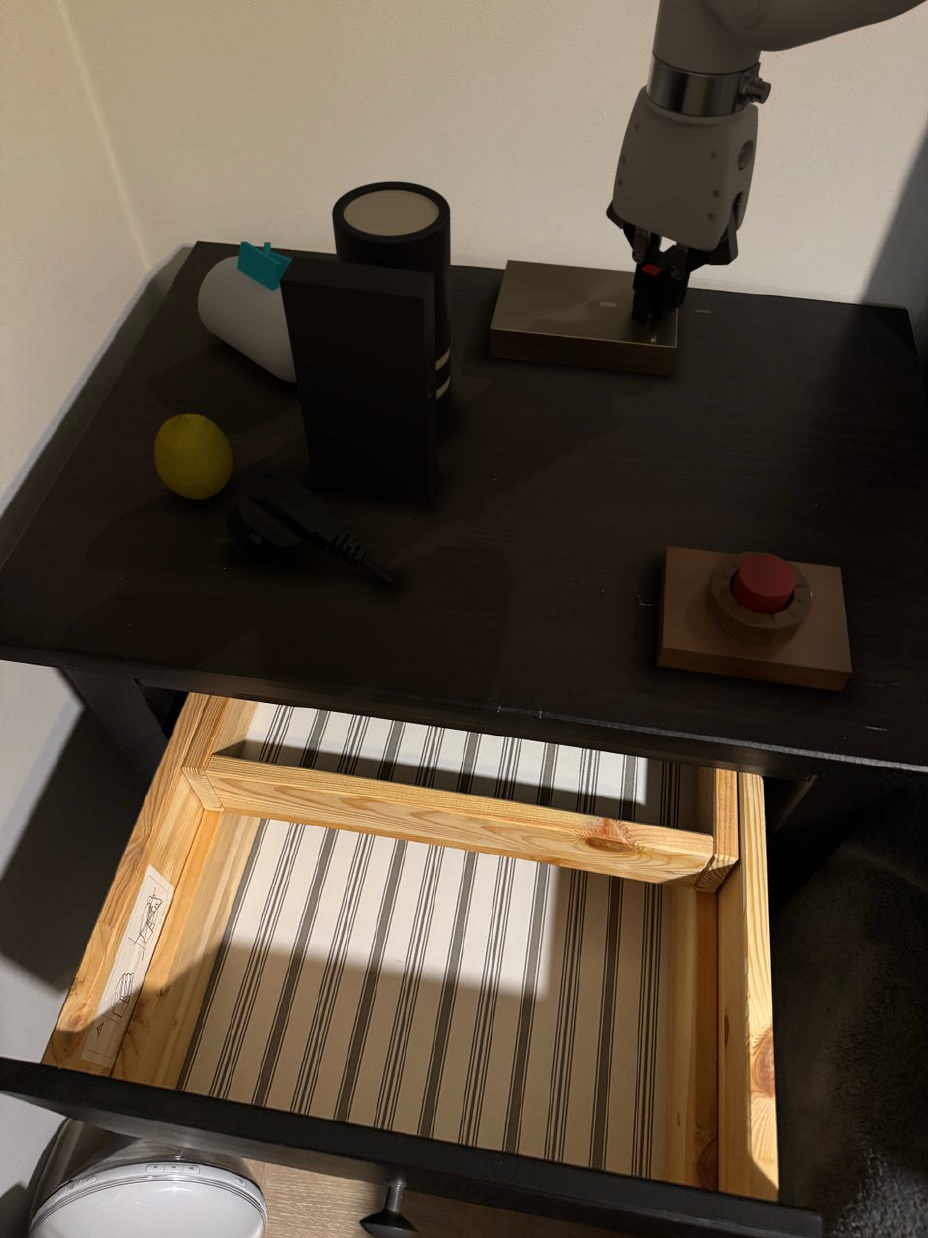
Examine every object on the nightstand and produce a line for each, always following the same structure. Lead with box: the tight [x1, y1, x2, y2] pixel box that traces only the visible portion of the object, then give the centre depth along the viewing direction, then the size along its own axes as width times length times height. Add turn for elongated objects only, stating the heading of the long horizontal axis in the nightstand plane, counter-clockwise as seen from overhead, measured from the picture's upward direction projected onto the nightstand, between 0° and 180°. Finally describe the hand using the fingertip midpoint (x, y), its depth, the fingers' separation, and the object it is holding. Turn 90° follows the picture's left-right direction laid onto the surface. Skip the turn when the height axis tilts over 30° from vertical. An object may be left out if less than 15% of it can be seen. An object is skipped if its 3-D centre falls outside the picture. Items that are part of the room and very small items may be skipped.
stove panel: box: [488, 259, 712, 377], centre depth 82 cm, size 19×11×3 cm, turn 80°
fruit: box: [153, 413, 234, 501], centre depth 67 cm, size 6×6×8 cm
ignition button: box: [733, 555, 796, 614], centre depth 59 cm, size 4×4×2 cm
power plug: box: [225, 472, 394, 586], centre depth 65 cm, size 6×8×12 cm
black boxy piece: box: [631, 244, 676, 325], centre depth 78 cm, size 6×2×5 cm, turn 141°
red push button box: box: [656, 545, 853, 692], centre depth 61 cm, size 12×9×4 cm
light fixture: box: [279, 180, 453, 507], centre depth 67 cm, size 10×14×18 cm
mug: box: [197, 240, 297, 383], centre depth 79 cm, size 12×9×12 cm
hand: (656, 304), depth 80 cm, fingers closed on black boxy piece
